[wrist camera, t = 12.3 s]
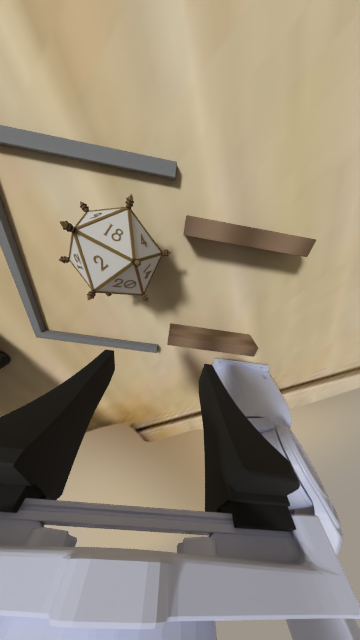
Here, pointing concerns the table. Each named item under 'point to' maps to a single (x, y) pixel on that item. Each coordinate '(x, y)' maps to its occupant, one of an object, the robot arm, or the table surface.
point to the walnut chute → (239, 236)
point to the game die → (113, 251)
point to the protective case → (4, 360)
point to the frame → (84, 152)
